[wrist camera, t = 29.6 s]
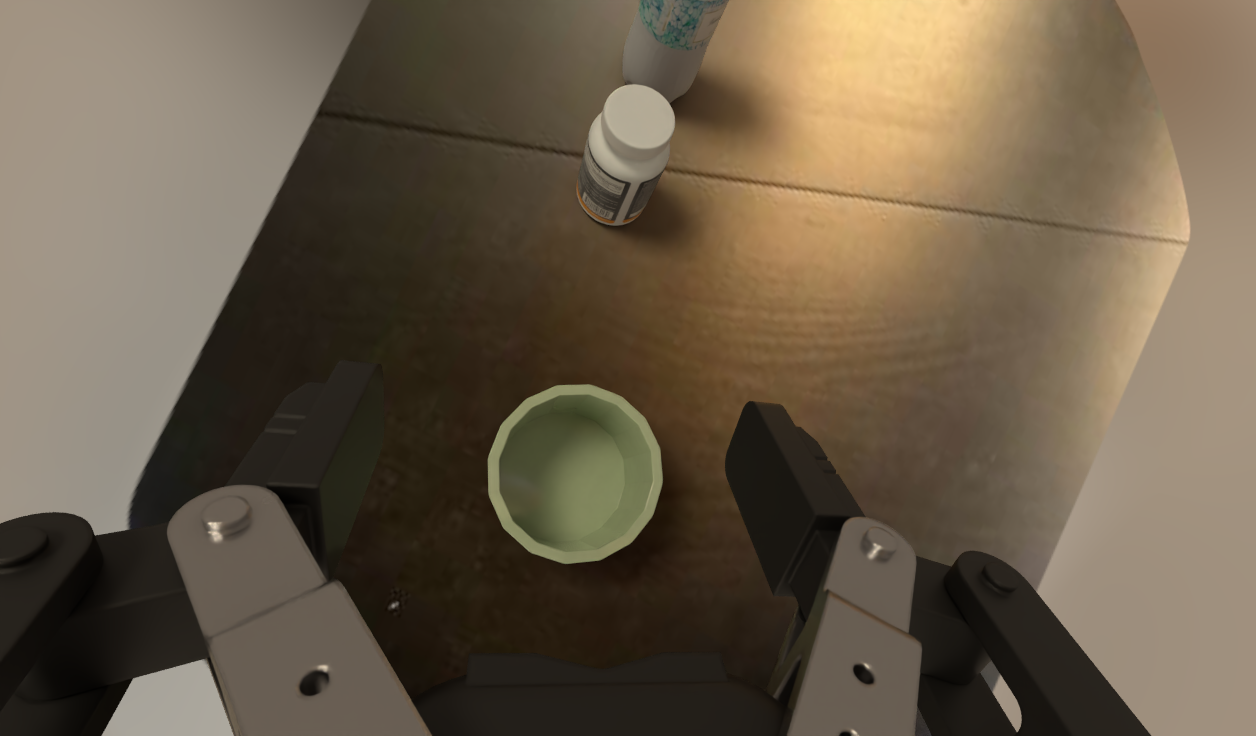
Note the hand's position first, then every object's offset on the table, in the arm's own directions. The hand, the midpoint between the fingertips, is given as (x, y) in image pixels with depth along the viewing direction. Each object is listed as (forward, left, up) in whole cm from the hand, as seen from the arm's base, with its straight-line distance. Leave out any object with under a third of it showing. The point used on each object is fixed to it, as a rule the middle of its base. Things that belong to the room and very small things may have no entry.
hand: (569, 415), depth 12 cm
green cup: (+3, +1, -27) cm, 27 cm away
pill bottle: (-1, +23, -27) cm, 35 cm away
